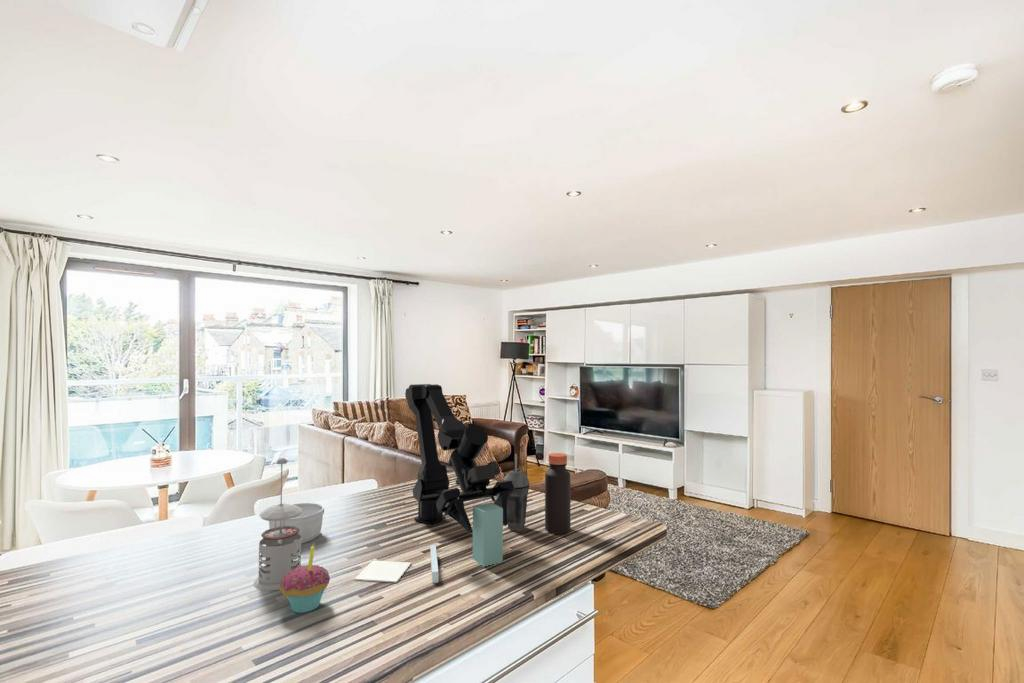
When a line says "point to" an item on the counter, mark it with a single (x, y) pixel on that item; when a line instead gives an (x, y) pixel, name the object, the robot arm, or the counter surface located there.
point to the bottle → (557, 495)
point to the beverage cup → (517, 499)
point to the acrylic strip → (434, 564)
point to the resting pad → (383, 571)
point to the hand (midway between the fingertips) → (489, 528)
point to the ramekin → (304, 521)
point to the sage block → (487, 534)
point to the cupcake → (305, 585)
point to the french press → (277, 556)
